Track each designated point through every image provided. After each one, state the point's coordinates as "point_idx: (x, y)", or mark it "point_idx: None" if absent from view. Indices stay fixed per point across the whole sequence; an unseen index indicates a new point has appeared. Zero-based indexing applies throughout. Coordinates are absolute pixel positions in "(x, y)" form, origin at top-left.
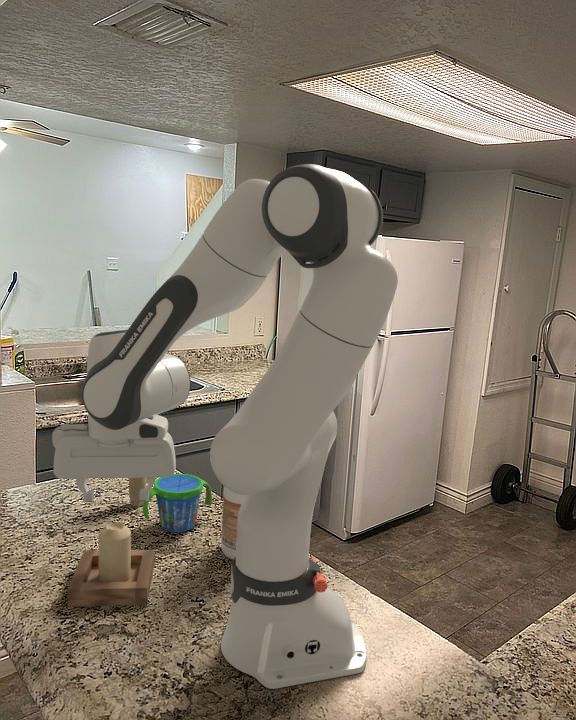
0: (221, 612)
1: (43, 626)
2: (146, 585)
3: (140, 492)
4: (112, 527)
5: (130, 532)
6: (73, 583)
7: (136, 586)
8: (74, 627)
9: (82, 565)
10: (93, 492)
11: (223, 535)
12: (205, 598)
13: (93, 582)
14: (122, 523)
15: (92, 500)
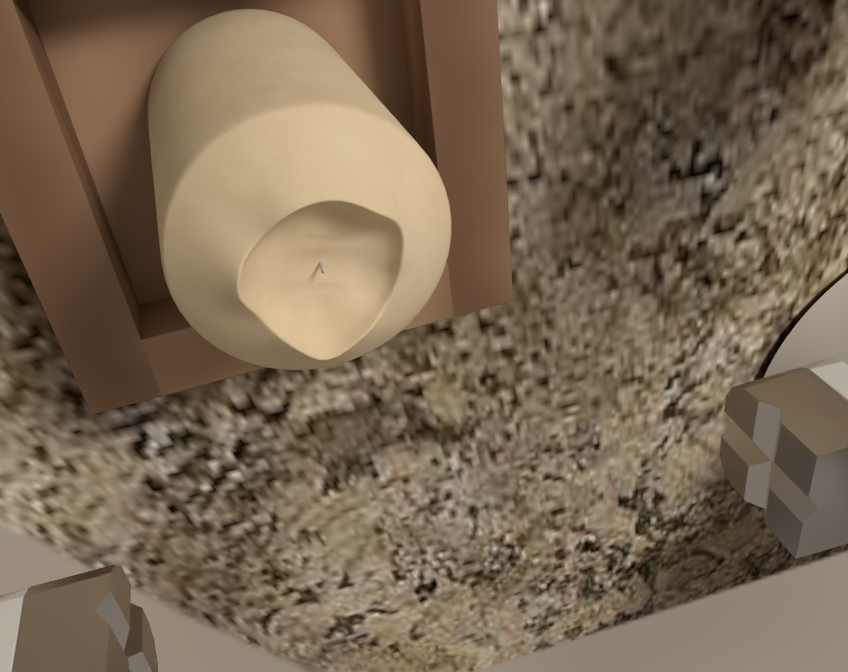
0: (780, 232)
1: (70, 491)
2: (505, 281)
3: (805, 553)
4: (283, 236)
5: (446, 207)
6: (91, 361)
7: (456, 303)
8: (212, 460)
9: (18, 161)
10: (121, 668)
11: None
12: (730, 146)
13: None
14: (382, 212)
15: (149, 644)
